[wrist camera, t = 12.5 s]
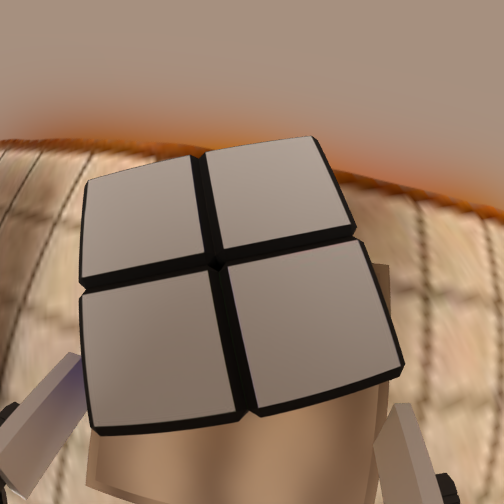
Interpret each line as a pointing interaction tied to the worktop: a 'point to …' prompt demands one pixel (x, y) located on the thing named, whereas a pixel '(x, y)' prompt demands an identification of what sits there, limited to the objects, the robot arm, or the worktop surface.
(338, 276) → the puzzle cube
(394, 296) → the worktop surface
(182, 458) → the block
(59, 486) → the worktop surface
